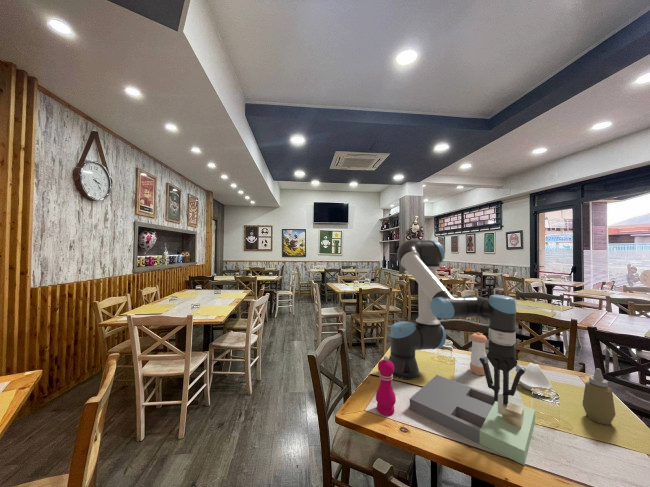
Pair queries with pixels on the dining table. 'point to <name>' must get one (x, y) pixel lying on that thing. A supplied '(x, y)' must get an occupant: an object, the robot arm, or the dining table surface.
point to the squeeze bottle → (598, 399)
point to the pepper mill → (385, 388)
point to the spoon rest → (534, 378)
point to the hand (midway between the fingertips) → (501, 412)
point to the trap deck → (474, 416)
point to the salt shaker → (477, 353)
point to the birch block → (513, 414)
